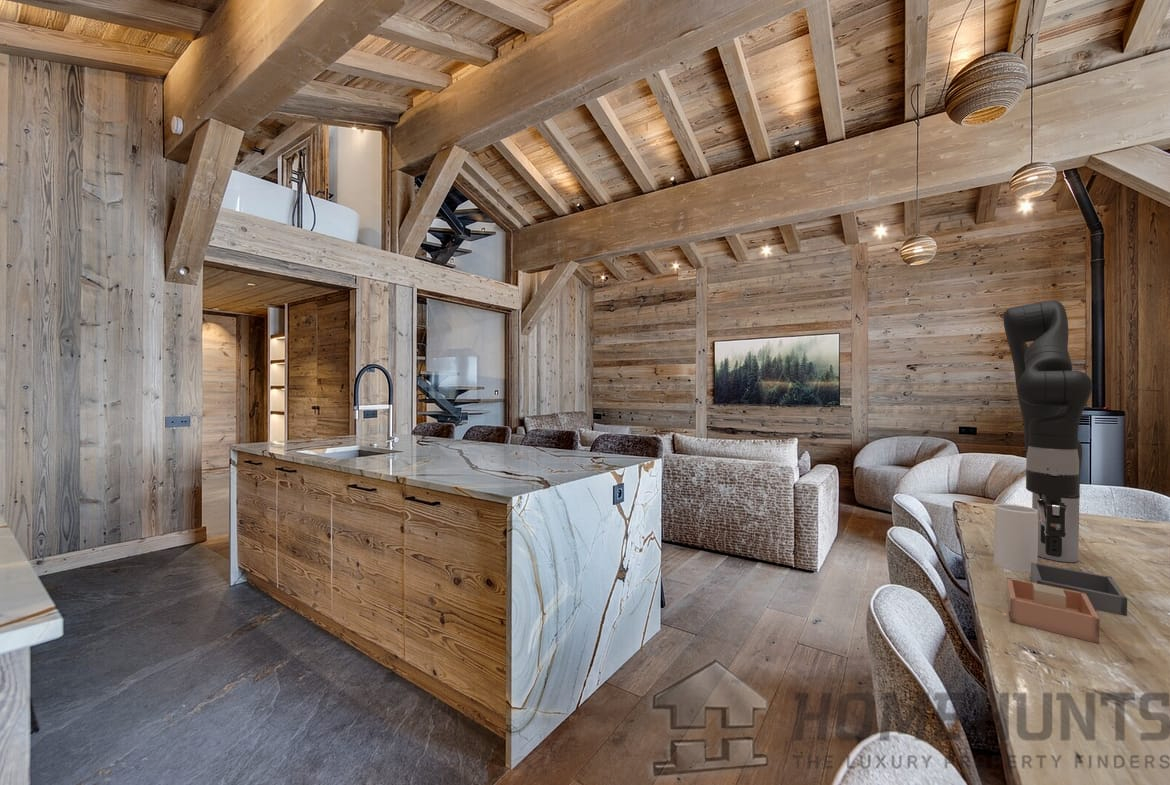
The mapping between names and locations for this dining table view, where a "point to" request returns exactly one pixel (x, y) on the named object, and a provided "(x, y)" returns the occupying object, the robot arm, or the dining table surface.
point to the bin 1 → (1053, 612)
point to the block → (1049, 596)
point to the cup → (1015, 537)
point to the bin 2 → (1083, 586)
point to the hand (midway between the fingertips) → (1050, 549)
